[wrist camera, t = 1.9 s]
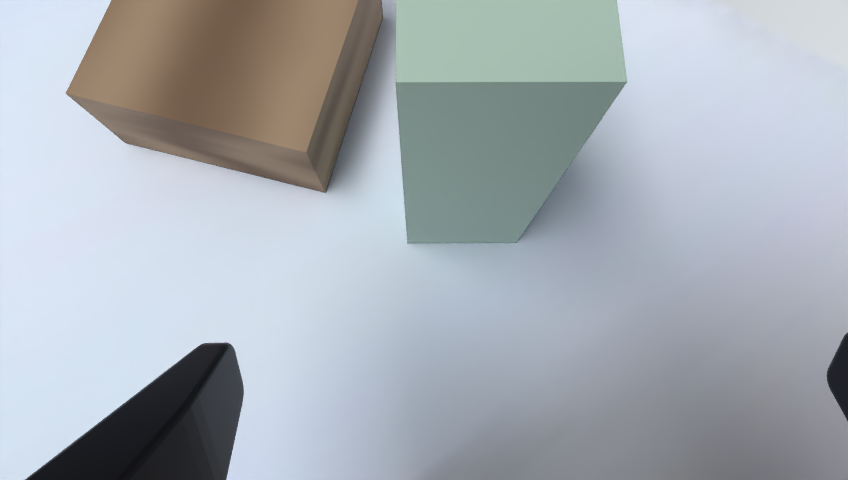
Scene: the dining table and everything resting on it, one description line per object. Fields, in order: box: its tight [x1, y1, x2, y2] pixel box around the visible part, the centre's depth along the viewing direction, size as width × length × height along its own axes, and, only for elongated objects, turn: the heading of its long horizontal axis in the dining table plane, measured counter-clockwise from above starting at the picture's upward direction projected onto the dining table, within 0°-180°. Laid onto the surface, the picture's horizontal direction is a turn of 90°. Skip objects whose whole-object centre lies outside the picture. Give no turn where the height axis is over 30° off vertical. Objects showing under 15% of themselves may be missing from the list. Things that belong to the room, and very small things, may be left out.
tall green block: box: [396, 0, 627, 243], centre depth 17 cm, size 4×4×12 cm
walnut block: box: [66, 0, 383, 192], centre depth 22 cm, size 9×9×4 cm
